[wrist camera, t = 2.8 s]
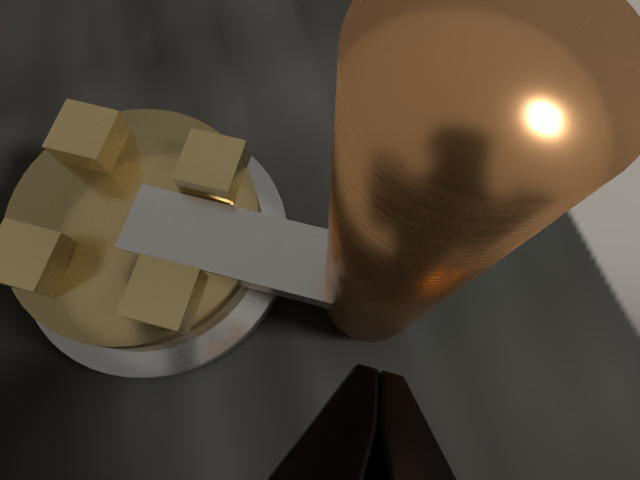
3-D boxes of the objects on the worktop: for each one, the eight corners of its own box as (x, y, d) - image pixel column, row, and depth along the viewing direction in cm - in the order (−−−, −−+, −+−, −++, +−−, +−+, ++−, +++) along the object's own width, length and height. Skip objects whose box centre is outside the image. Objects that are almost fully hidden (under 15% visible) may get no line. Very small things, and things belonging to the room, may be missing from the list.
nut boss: (179, 436, 15) (170, 439, 14) (-16, 278, 17) (-36, 272, 16) (337, 219, 18) (338, 209, 17) (154, 101, 19) (145, 86, 18)
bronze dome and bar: (8, 319, 16) (-845, 127, 4) (101, 127, 18) (-273, -324, 7) (390, 426, 14) (654, 561, 3) (433, 206, 17) (668, -172, 6)
